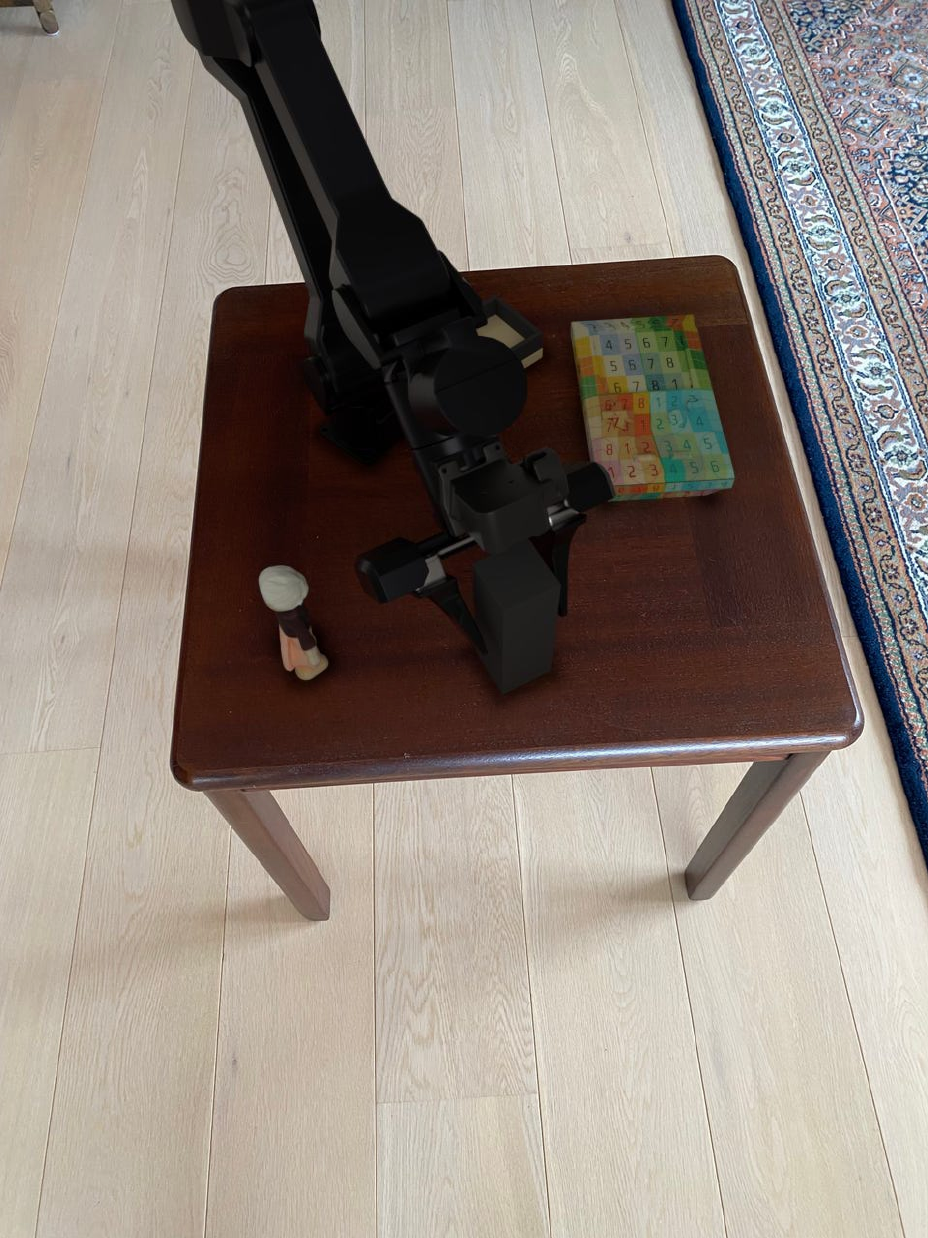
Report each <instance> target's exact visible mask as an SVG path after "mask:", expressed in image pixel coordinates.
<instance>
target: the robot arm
mask: <svg viewBox="0 0 928 1238" xmlns="http://www.w3.org/2000/svg"><path fill="white" fill-rule="evenodd" d="M170 2H171V6H172V7H171V8H172V9H173V13H174V15H175V18H176V21H177V23H178V25H179V29H180V31H181V32H182V34H183V36H184V38H185V40H186V41H187V42H188V43H189V44H190V45H191V46H192V47H193V48H194V49H195V50H196V52H197V53H198V55H199V58H200V61H201V64H202V65H203V68H204V69H205V70H206V72H207V73H208V74H210V75H211V76H212V77H213V78H214V79H215V80H216V81H217V82H218V83H219V84H220V85H221V86H222V87H224V89H226V91H228V92H229V93H230V94H231V95H232V96H233V97H234V98H235V99H237V101H238V102H239V104H240V107H241V109H242V112H243V115H244V117H245V120H246V123H247V126H248V128H249V132H250V134H251V137H252V140H253V142H254V145H255V148H256V150H257V154H258V156H259V159H260V162H261V165H262V167H263V170H264V173H265V176H266V179H267V181H268V184H269V187H270V189H271V190H270V191H271V192H272V195H273V198H274V201H275V203H276V206H277V209H278V212H279V214H280V217H281V220H282V223H283V226H284V228H285V232H286V234H287V237H288V239H289V243H290V245H291V248H292V250H293V254H294V256H295V258H296V259H295V260H296V262H297V264H298V267H299V270H300V273H301V275H302V279H303V281H304V283H305V287H306V289H307V293H308V295H309V301H308V307H307V313H306V318H305V324H304V329H303V337H304V340H305V343H306V347H307V348H308V351H309V355H310V357H308V358H306V359H304V360H301V361H300V362H298V366H299V369H300V373H301V375H302V377H303V381H304V384H305V385H306V387H307V389H308V391H309V393H310V394H311V395H312V397H313V399H314V400H315V403H316V404H317V405H318V407H319V408H320V411H321V412H322V413H323V415H324V416H325V417H326V418H327V417H329V420H327V421H326V422H325V423H324V424H322V426H321V427H320V428H319V434H320V436H321V437H323V438H324V439H326V441H328V442H330V443H331V444H333V445H335V446H336V447H338V448H339V449H340V450H342V451H343V452H344V453H346V454H348V455H349V456H351V457H352V458H354V459H355V460H357V461H358V462H360V463H361V464H363V465H365V466H370V465H372V464H373V463H375V462H376V461H377V460H378V459H379V458H380V457H382V456H383V454H385V453H386V452H388V451H389V450H391V448H392V447H394V445H396V444H397V443H398V442H399V441H400V440H402V438H404V439H405V442H406V445H407V447H408V449H409V452H410V454H411V457H412V459H413V460H411V462H412V465H413V468H414V470H415V473H416V475H419V477H420V481H421V482H422V485H423V487H424V490H425V493H426V496H427V498H428V500H429V503H430V505H431V507H432V510H433V513H432V517H433V519H434V521H435V523H436V526H437V527H439V529H440V532H437V533H436V534H433V535H431V536H429V537H427V538H424V539H421V540H420V541H418V542H414V541H412V540H409V539H406V538H404V537H402V536H397V537H396V538H393V539H391V540H389V541H387V542H384V543H381V544H380V545H377V546H375V547H372V548H371V549H368V550H366V551H364V552H362V553H360V554H357V555H356V559H355V562H354V565H353V567H354V572H355V574H356V577H357V579H358V582H359V584H360V586H361V589H362V591H363V593H364V594H365V595H367V596H368V597H370V598H371V599H372V600H373V601H375V602H376V603H377V604H379V605H382V604H388V603H391V602H392V601H395V600H398V599H399V598H402V597H403V596H405V595H411V596H412V597H414V598H415V599H417V600H422V599H426V598H428V600H430V601H431V602H432V603H433V604H434V605H436V607H437V608H439V609H440V610H441V612H443V613H444V615H445V616H446V617H447V618H448V619H449V620H450V621H451V623H452V624H453V625H454V626H455V627H456V628H457V630H458V631H459V632H460V633H461V634H462V635H463V636H464V637H465V638H466V640H467V641H468V642H469V643H470V644H471V645H472V646H473V648H474V649H475V651H476V650H477V651H478V652H479V653H480V654H481V655H483V656H485V655H487V654H488V651H487V648H486V645H485V642H484V639H483V637H482V635H481V633H480V631H479V629H478V627H477V625H476V623H475V620H474V616H473V614H472V613H471V611H470V609H469V608H468V606H467V603H466V601H465V599H464V598H463V596H462V594H461V591H460V587H459V582H458V579H457V577H456V576H454V575H452V574H450V573H449V572H446V571H445V569H444V565H443V562H442V561H444V560H447V559H449V558H451V557H454V556H455V555H458V554H459V553H462V552H464V551H466V550H468V549H470V548H473V547H475V546H477V545H478V546H479V547H480V549H481V551H482V552H484V553H486V554H487V555H488V554H489V555H492V554H500V553H503V552H505V551H507V550H509V549H510V548H511V546H512V545H514V544H516V543H518V542H521V541H523V540H525V539H527V538H528V539H529V540H530V541H531V543H532V544H533V546H534V547H535V549H536V550H537V551H538V553H539V554H540V556H541V557H542V559H543V560H544V561H545V563H546V564H547V566H548V567H549V569H550V570H551V571H552V573H553V574H554V576H555V577H556V579H557V580H558V581H559V583H560V584H561V588H560V596H559V605H558V614H557V617H558V616H559V617H561V618H564V617H567V615H568V597H569V595H568V594H569V590H568V589H569V588H568V587H569V585H568V584H569V583H568V582H569V581H568V579H569V558H570V549H571V543H572V541H573V539H574V536H575V534H576V532H577V530H578V528H580V526H583V525H585V524H586V523H587V522H588V514H587V513H586V512H587V511H590V510H591V509H593V508H596V507H598V506H600V505H603V504H604V503H607V502H610V501H609V500H611V499H613V498H614V497H615V496H616V493H615V490H614V487H613V484H612V481H611V477H610V474H609V473H608V472H607V470H606V469H605V468H604V467H603V466H602V465H600V464H598V463H597V462H591V461H586V460H568V461H565V462H563V463H561V459H560V456H559V455H558V452H557V451H555V450H554V449H552V448H551V447H550V446H544V447H542V448H540V449H537V450H535V451H533V452H531V453H528V454H526V455H524V456H523V458H522V459H521V460H519V461H517V462H515V463H514V462H513V461H512V459H511V458H510V457H509V455H508V454H507V452H506V450H505V447H504V445H503V443H502V442H501V440H500V438H499V435H498V434H501V433H503V432H504V431H506V430H507V429H508V428H510V427H511V426H512V425H513V424H514V423H515V422H516V421H517V420H518V418H519V417H520V416H521V413H522V411H523V409H524V408H525V405H526V400H527V397H528V378H527V373H526V368H524V366H523V364H522V361H521V360H520V359H518V357H517V356H516V355H515V353H514V352H513V351H512V350H511V349H510V348H509V347H508V346H506V345H505V344H504V343H503V342H500V341H498V340H496V339H494V338H491V337H486V336H478V333H477V330H476V329H478V328H481V327H483V326H486V325H487V324H488V320H487V317H486V315H485V313H484V312H483V304H482V302H483V298H482V297H481V296H480V295H479V294H478V293H477V291H476V290H475V289H474V288H473V287H472V285H471V284H470V283H469V282H468V281H467V280H466V279H465V277H464V276H463V275H462V274H461V272H459V270H458V269H457V267H456V266H454V264H452V263H451V260H449V258H448V257H447V255H446V254H445V253H444V252H443V251H442V250H440V249H438V248H437V246H436V244H435V242H434V240H433V238H432V236H431V234H430V232H429V230H428V228H427V225H425V222H424V221H423V219H422V218H421V217H420V216H418V215H417V214H415V213H414V212H412V211H411V210H409V208H407V207H405V206H404V205H403V204H402V203H400V202H398V201H397V200H395V199H394V198H393V197H392V195H391V193H390V191H389V189H388V187H387V185H386V183H385V181H384V179H383V177H382V174H381V172H380V170H379V168H378V165H377V162H376V161H375V159H374V156H373V154H372V152H371V149H370V147H369V145H368V143H367V140H366V138H365V136H364V133H363V131H362V129H361V127H360V125H359V122H358V119H357V118H356V115H355V113H354V111H353V109H352V107H351V104H350V101H349V99H348V98H347V95H346V92H345V91H344V89H343V86H342V83H341V81H340V79H339V77H338V74H337V71H336V70H335V68H334V66H333V63H332V61H331V59H330V56H329V54H328V52H327V50H326V48H325V45H324V43H323V41H322V28H321V23H320V18H319V15H318V12H317V11H318V10H317V7H316V5H315V2H314V0H170Z"/></svg>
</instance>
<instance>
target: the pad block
mask: <svg viewBox="0 0 928 1238" xmlns="http://www.w3.org/2000/svg"><path fill="white" fill-rule="evenodd" d="M471 568H472V569H471V571H472V594H473V595H472V596H473V614H474V616H473V619H474V621H475V623H476V625H477V627H478V629H479V631H480V633H481V635H482V637H483V639H484V642H485V645H486V648H487V651H488V654H487V655H485V656H483V655H481V654H480V653H479V652H478V651H477V650H476V649H475V653H476V655H477V656H478V658H479V659H480V661H481V663H482V664H483V665H484V667H485V669H486V671H487V673H488V674H489V676H490V677H491V679H492V680H493V682H494V684H495V685H496V687H497V688H498V690H499V692H500V694H501V695H502V696H503V695H506V694H508V693H509V692H511V691H513V690H515V689H517V688H520V687H521V686H524V685H525V684H527V683H530V682H531V681H533V680H536V679H537V678H540V677H541V676H543V675H545V674H547V673H549V672H551V671H552V667H553V656H554V650H555V649H554V648H555V641H556V640H555V639H556V633H557V632H556V631H557V621H558V615H557V614H558V605H559V596H560V588H561V584H560V583H559V581H558V580H557V579H556V577H555V576H554V574H553V573H552V571H551V570H550V569H549V567H548V566H547V564H546V563H545V561H544V560H543V559H542V557H541V556H540V554H539V553H538V551H537V550H536V549H535V547H534V546H533V544H532V543H531V541H530V540H529V539H528V538H527V539H525V540H523V541H521V542H518V543H516V544H514V545H512V546H511V548H510V549H509V550H507V551H505V552H503V553H500V554H489V555H487V556H486V557H483V558H481V559H479V560H477V561H474V562H473V563H472V564H471Z"/></svg>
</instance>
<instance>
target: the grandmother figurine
mask: <svg viewBox="0 0 928 1238" xmlns="http://www.w3.org/2000/svg"><path fill="white" fill-rule="evenodd" d="M258 584H259V589H260V593H261V596H262V599H263V602H264V603H265V605H266V606H267V607H268V608H269V609H271V610H272V611H273V612H274V614H275V616H276V618H277V621H278V627H279V640H280V651H281V652H280V653H281V659H282V662H283V667H284V668H285V670H286V671H289V672H292V671H293V670H294V672H295V674H296V676H297V678H299V679H300V680H303V681H308V680H312V679H313V678H315V677H317V676H319V674H321V673H322V672H323V671H325V670H326V669H327V668H328V666H329V659H328V658H327V656H326V655H324V654H323V653H321V652H320V650H319V648H318V646H317V644H318V643H317V637H316V636H315V634H313V630H312V619H311V616H310V612H309V611H308V609H307V607H306V605H305V603H304V600H305V598H306V597H307V596H308V593H309V584H308V582H307V579H306V578H305V576H304V575H303V574H302V573H300V572H299V571H297V570H295V569H294V568H293V567H291V566H288V565H282V564H281V565H273V566H268V567H266V568H264V569H263V570H262V571H261V572H260V573H259V577H258Z"/></svg>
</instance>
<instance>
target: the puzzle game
mask: <svg viewBox="0 0 928 1238" xmlns="http://www.w3.org/2000/svg"><path fill="white" fill-rule="evenodd" d="M570 337H571V343H572V344H571V345H572V351H573V357H574V363H575V371H576V377H577V383H578V391H579V396H580V403H581V409H582V415H583V423H584V428H585V435H586V443H587V448H588V455H589V460H590V461H589V462H597V463H598V464H600V465H602V466H603V467H604V468H605V469H606V470H607V472H608V473H609V474H610V477H611V481H612V484H613V487H614V490H615V493H616V496H615V497H614V498H613V499H611V500H609V501H608V502H620V501H621V502H622V501H636V500H639V501H640V500H654V499H656V500H657V499H669V498H671V499H673V498H688V497H704V496H709V495H711V494H714V493H718V492H720V491H723V490H727V489H732V488H733V486H734V483H735V480H736V478H735V473H734V468H733V464H732V460H731V456H730V452H729V448H728V444H727V441H726V437H725V433H724V429H723V425H722V421H721V417H720V413H719V409H718V405H717V402H716V398H715V394H714V390H713V385H712V381H711V377H710V374H709V369H708V365H707V362H706V359H705V355H704V350H703V347H702V346H703V345H702V343H701V339H700V334H699V331H698V327H697V322H696V319H695V315H694V314H681V315H680V314H679V315H664V316H663V315H662V316H661V315H660V316H646V317H631V318H630V317H629V318H613V319H599V320H598V319H597V320H595V319H594V320H581V321H579V320H578V321H571V322H570Z"/></svg>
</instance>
